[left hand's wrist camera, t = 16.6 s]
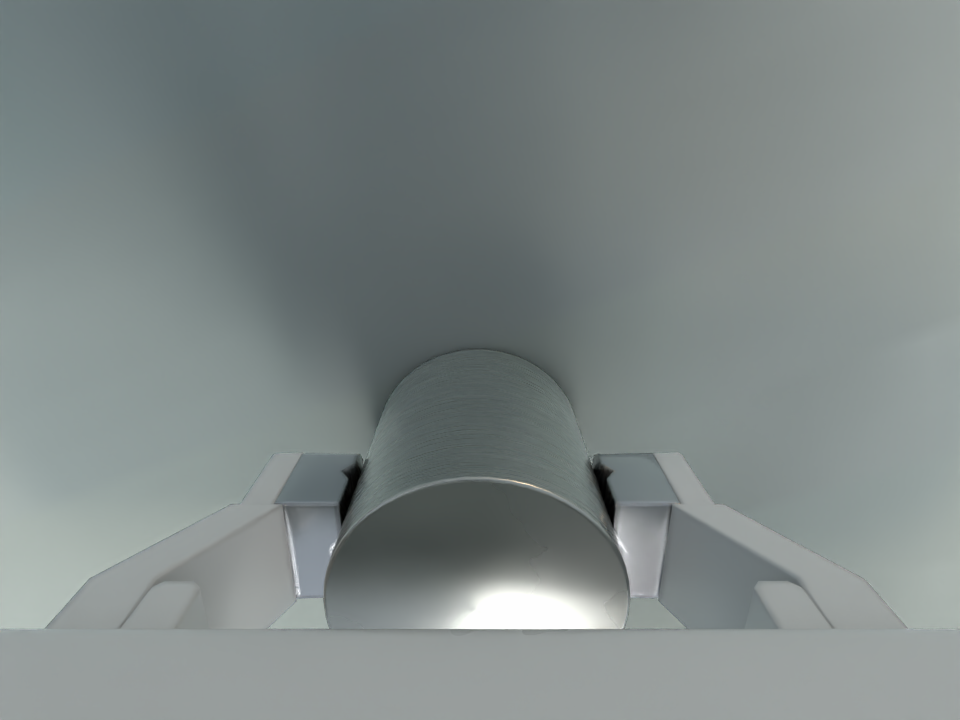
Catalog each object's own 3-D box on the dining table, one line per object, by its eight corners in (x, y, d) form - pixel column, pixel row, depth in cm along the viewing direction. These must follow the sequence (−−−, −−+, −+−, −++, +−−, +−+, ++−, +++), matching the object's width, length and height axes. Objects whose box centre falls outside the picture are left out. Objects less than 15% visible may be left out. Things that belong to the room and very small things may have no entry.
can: (355, 369, 11) (279, 510, 7) (561, 330, 11) (612, 450, 7) (406, 536, 13) (369, 736, 9) (589, 505, 13) (646, 697, 8)
